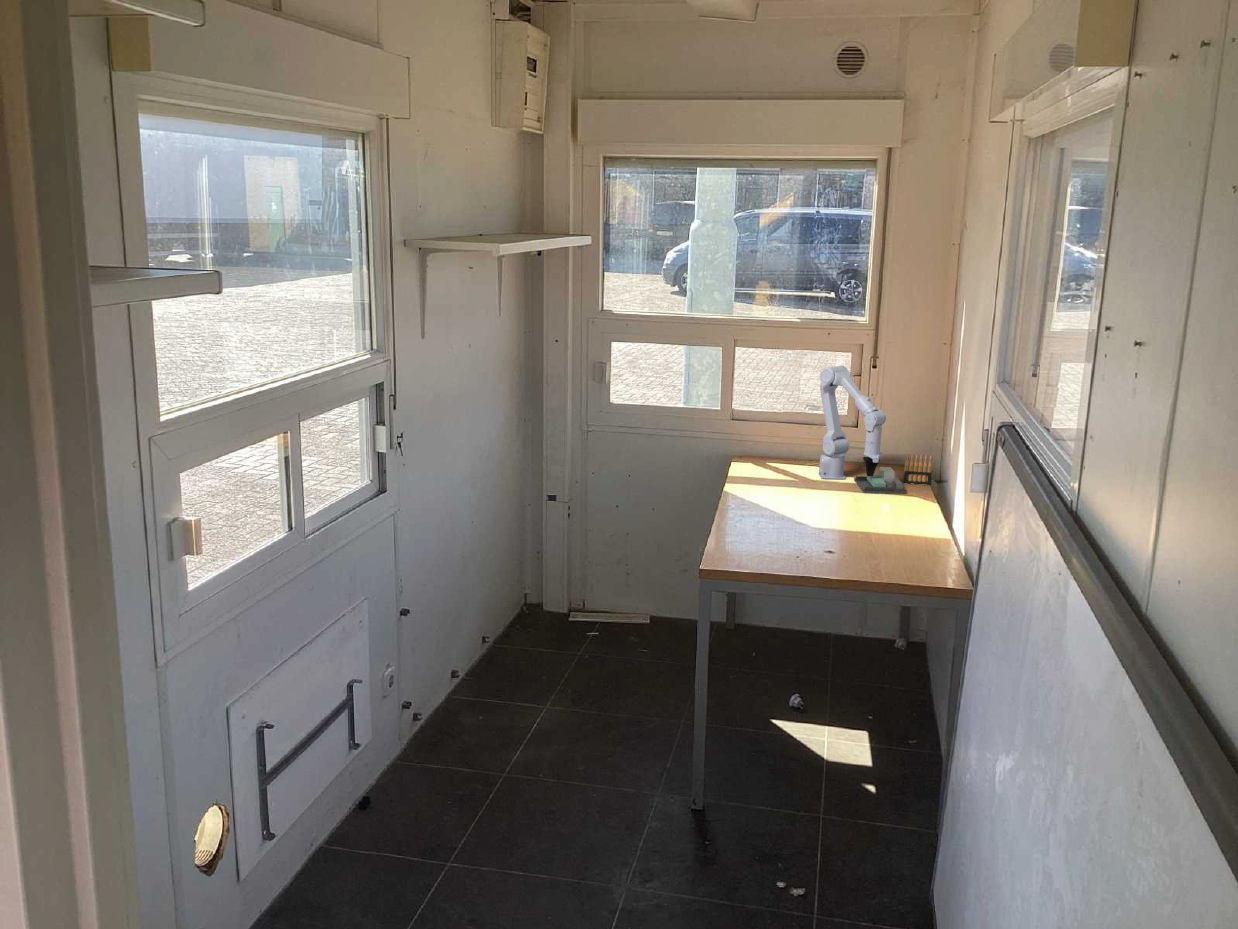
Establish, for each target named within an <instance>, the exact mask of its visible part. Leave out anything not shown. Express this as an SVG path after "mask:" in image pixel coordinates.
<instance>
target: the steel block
mask: <svg viewBox="0 0 1238 929" xmlns="http://www.w3.org/2000/svg"><path fill="white" fill-rule="evenodd" d="M895 473H896V471H894V470H893V469H892V467H890V466H889V467H888V466H880V467H879V474H878V475H879V476H880V477H881V479H882V480H883V481H884V482H885V483H886V487H893V486H894V475H895Z"/></svg>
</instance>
